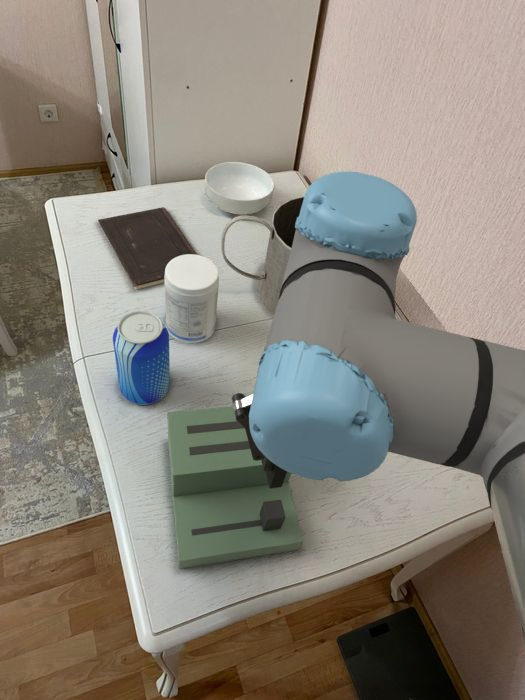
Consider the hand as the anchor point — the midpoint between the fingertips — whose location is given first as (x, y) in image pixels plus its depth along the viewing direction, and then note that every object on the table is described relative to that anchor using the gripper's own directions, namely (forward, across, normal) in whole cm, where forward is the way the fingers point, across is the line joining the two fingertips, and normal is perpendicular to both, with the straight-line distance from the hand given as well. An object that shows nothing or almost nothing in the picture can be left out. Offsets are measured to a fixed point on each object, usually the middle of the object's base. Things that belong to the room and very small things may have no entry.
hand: (273, 477), depth 61 cm
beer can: (+17, +14, -27) cm, 35 cm away
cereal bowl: (+17, -11, -82) cm, 84 cm away
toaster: (+17, +3, -6) cm, 18 cm away
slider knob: (+13, -1, 0) cm, 13 cm away
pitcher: (+17, -17, -49) cm, 54 cm away
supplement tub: (+17, +5, -41) cm, 45 cm away
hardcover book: (+17, +11, -64) cm, 68 cm away
